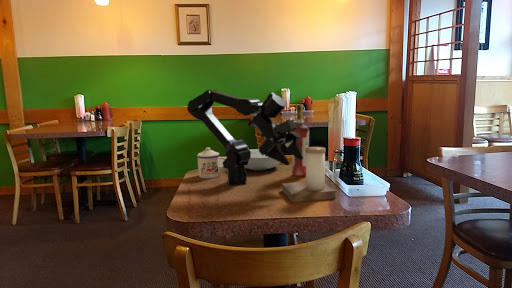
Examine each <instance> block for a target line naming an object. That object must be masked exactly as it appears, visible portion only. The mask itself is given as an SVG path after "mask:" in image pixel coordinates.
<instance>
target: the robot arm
mask: <svg viewBox="0 0 512 288" xmlns="http://www.w3.org/2000/svg"><path fill="white" fill-rule="evenodd" d="M215 103H217V104H220V105H223V106H226V107H229V108H232V109H234V110H235V111H236V112H237V113H239V114H241V115H242V116H246V117H248V116H252V117H250V118H248V123H247V126H248V127H256V128H257V130H258V131H259V132H260V133H261V134H260V137H261V139H263V138H264V141H263V142H262V143H261V144H260V145H259V146H258V149H259V152H260V153H261V155H265V156H266V157H267V156H268V157H270V158H272V159H275V160H277V161H279V162H280V164H283V165H285V166H287V167H288V166H289V165H290V164H291V163H290V162H289V161H290V160H288V158H287V156H286V155H285V153H283V150H282V148H285V151H286V152H288V153H290V154H291V156H292V155H294V156H295V157H296V158H298V159H299V160H302V159H303V156H302V154H301V151H300V149H299V146H298V141H299V137H300V135H299V134H298V133H297V132H292V133H291V130H292V129H296V123H297V122H296V120H295V119H294V118H292V117H290V118H288V119H286V120H285V121H283V122H281V123H278V122H277V123H276V122H274V121H273V119H276V118H278V116H279V115H280V114H281V113H282V112H283V111H284V109H285V108H286V107H287V105H288V104H287V102H286V100H285V99H284V98H282V97H281V96H279V95H277V94H276V93H275V92H270V93H269V94H268V95H267V98H265V100H264V101H262V102H261V100H260V99H259V98H255V97H253V98H252V97H238V96H235V95H232V94H228V93H225V92H221V91H218V90H216V89H206V90H205V91H204V92H203V93H202V94H200V95H198V96H196V97H194V98H193V99H191V100H189V101H188V103H187V105H186V106H187V112H188V113H189V115H191V116H192V117H193V118H195V119H196V120H199V121H201V122H202V123H203V124H204V126H206V128H207V129H208V130H209V131H210V132H211V133H212V135H213V136H214V138H215V139H216V140H217V141H218V142H219V143H220V145H221V146H222V147H223V149H224V153H225V157H226V158H225V160H224V159H223V162H222V167H223V166H224V169H226V170H227V175H226V176H227V179H226V182H227V185H228V186H235V185H236V186H237V185H238V186H239V185H246V184H247V181H248V178H247V177H248V176H247V170H246V168H245V167H244V166H245V165H248V161H249V159H250V157H251V152H250V150H251V149H249V148H250V146H248V145H247V144H246V143H245V140H243V139H239V140H236V139H235V138H234V137H233V136H232V135H231V134H230V133H229V131H228V130H227V129H226V128H225V127H224V125H223V124H222V123H221V122H220V121H219V119H218V118H217V117H216V116H215V115H214V114H213V108H212V107H213V106H214V105H215ZM272 118H273V119H272ZM288 132H289V133H288ZM281 147H282V148H281Z"/></svg>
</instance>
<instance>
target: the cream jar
mask: <svg viewBox="0 0 512 288" xmlns="http://www.w3.org/2000/svg"><path fill="white" fill-rule="evenodd" d="M305 152H306V176H305V182H306V189H308V190H312V191H320V190H324V189H325V184H326V147H324V146H309V147H307V148H305Z"/></svg>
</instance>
